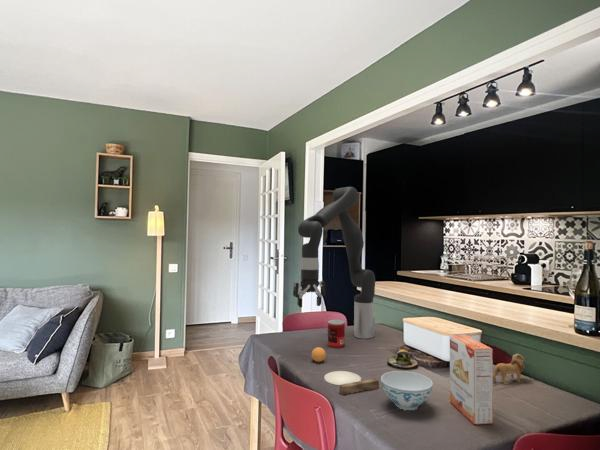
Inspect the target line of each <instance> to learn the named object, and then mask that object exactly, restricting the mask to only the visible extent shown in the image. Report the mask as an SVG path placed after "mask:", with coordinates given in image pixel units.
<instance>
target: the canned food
mask: <svg viewBox="0 0 600 450" xmlns="http://www.w3.org/2000/svg"><path fill="white" fill-rule="evenodd" d="M345 325H346V323H345V320H341V319H330V320H328V321H327V345H328V347H329V348H333V349H340V348H344V347H345V343H346V342H345V341H346V339H345V336H346V332H345V331H346V326H345Z"/></svg>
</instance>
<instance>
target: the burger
mask: <svg viewBox="0 0 600 450" xmlns="http://www.w3.org/2000/svg"><path fill="white" fill-rule="evenodd" d="M396 353H397V354H396V355H395V354H393V355H391V357H388V358H387V362H386V364H387V365H392V366H393V367H396V368H397V367H398V368H404V369H406V368H408V369H409V368H413V367H416V368H419V361H418V360H416V358H415V359H414V358H413V357H411V356H409V351H408V350H406V349H404V348H401V349H399V350H398V351H397V352H396Z"/></svg>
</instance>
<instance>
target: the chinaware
mask: <svg viewBox="0 0 600 450" xmlns="http://www.w3.org/2000/svg"><path fill="white" fill-rule="evenodd" d="M380 381H381V386H382V389H383V391H384V393H385V395H386V396H387V398H388V399H389V400H390V401H391V402H392V403H394V406H395V405H396V406H397V407H399V408H401V409H405V410H404V411H406V410H413V411H415V410H414V409H416V410H417V409H419V406H422V405H423V404H424V403H425V402H426V401H427V400H428V398H429V397H430V395H431V392H432V390H433V381H432V380H431V378H430V377H428V376H426V375H423V374H420V373H418V372H413V371H406V370H404V371H403V370H395V371H389V372H385V373H383V374H382V375H381V377H380ZM396 406H395V407H396ZM397 407H396V408H397ZM399 408H398V409H399ZM401 409H400V410H401Z"/></svg>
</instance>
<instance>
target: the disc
mask: <svg viewBox="0 0 600 450" xmlns="http://www.w3.org/2000/svg"><path fill="white" fill-rule="evenodd" d="M324 381H326V382H327V383H328V384H332V385H335V386H339V385H342V384H347V383H353V382H358V381H362V377H361V375H359V374H357V373H354V372H351V371H346V370H345V371H344V370H336V371H330V372H327V373H326V374H325V375H324Z"/></svg>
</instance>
